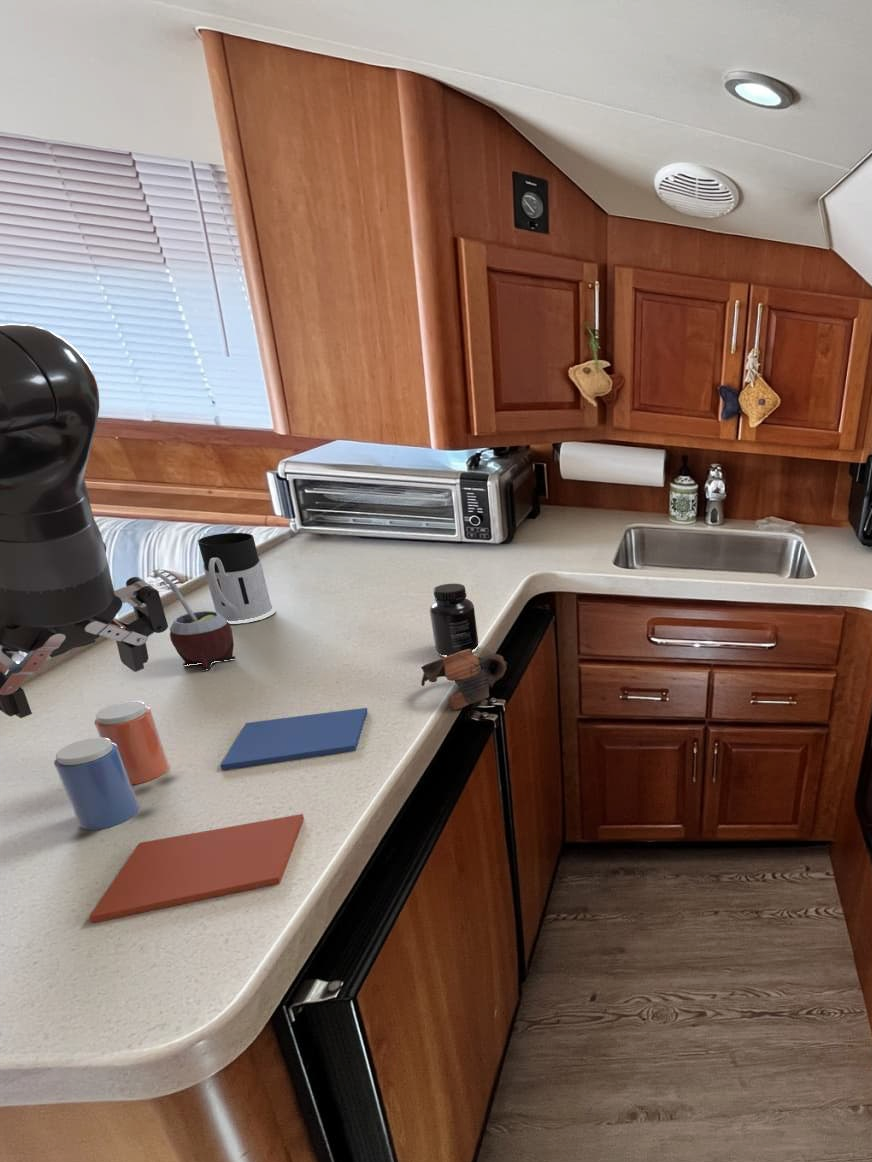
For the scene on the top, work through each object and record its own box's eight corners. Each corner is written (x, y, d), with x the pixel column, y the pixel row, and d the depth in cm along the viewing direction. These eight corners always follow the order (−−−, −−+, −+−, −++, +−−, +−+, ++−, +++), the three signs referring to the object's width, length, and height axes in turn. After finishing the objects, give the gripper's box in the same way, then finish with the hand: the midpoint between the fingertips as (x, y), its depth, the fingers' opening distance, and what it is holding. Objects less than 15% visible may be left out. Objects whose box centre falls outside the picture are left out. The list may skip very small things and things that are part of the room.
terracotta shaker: (108, 788, 74) (83, 723, 71) (127, 765, 78) (103, 702, 75) (160, 780, 76) (137, 716, 73) (175, 759, 80) (155, 697, 77)
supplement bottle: (484, 642, 116) (477, 581, 112) (472, 659, 110) (465, 595, 106) (443, 642, 115) (435, 580, 111) (429, 659, 109) (420, 594, 104)
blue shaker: (70, 834, 68) (40, 764, 64) (93, 807, 71) (66, 739, 68) (128, 824, 69) (102, 756, 66) (147, 798, 73) (123, 732, 70)
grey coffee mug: (281, 604, 124) (263, 530, 118) (260, 634, 112) (240, 553, 106) (223, 608, 120) (202, 532, 115) (196, 640, 108) (171, 556, 103)
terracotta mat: (91, 923, 58) (88, 917, 58) (141, 848, 67) (139, 842, 66) (280, 883, 64) (278, 877, 64) (304, 818, 72) (303, 813, 72)
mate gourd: (234, 668, 101) (210, 580, 95) (167, 677, 97) (137, 586, 91) (242, 649, 107) (220, 565, 101) (179, 656, 103) (152, 569, 97)
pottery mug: (433, 720, 93) (410, 669, 92) (440, 715, 102) (420, 668, 101) (516, 686, 98) (495, 637, 97) (517, 684, 106) (497, 639, 106)
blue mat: (221, 770, 79) (220, 765, 78) (247, 727, 87) (246, 722, 87) (355, 750, 84) (354, 745, 84) (367, 712, 93) (367, 707, 93)
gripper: (115, 513, 60) (139, 635, 69) (-121, 567, 48) (-56, 706, 57) (173, 554, 60) (191, 672, 68) (-52, 618, 48) (4, 752, 56)
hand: (79, 687), depth 62 cm, fingers open, 8 cm apart
